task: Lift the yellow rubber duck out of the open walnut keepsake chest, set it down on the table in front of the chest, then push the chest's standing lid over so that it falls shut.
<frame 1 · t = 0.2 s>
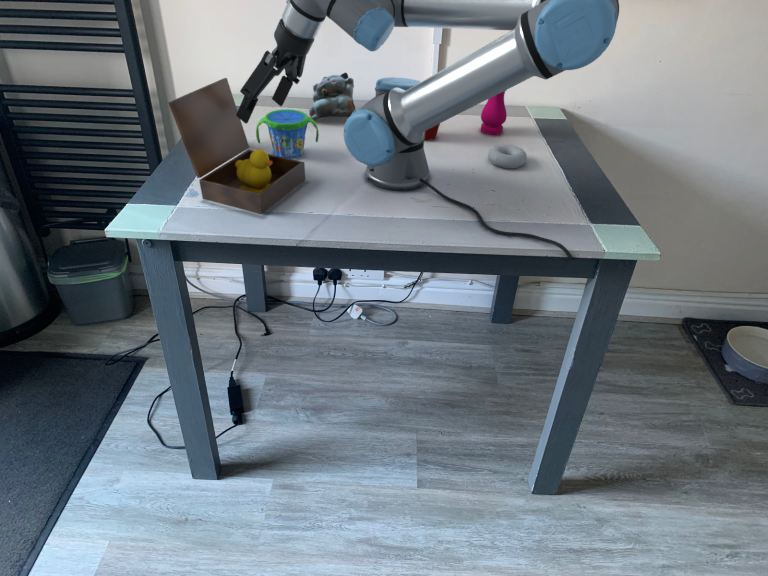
hand: (260, 110, 124), 16 cm above the table, tool tilted 30°, fingers open, 13 cm apart
lucky cat figurine: (331, 118, 167), on the table
pepper mill: (491, 132, 162), on the table
snack cup: (289, 155, 145), on the table
paper cup: (213, 147, 147), on the table
chest: (256, 191, 128), on the table
duck: (255, 188, 127), point 1 cm above the table, touching chest
lid: (204, 127, 123), point 13 cm above the table, hinge at 104.1°
donut: (506, 162, 145), on the table
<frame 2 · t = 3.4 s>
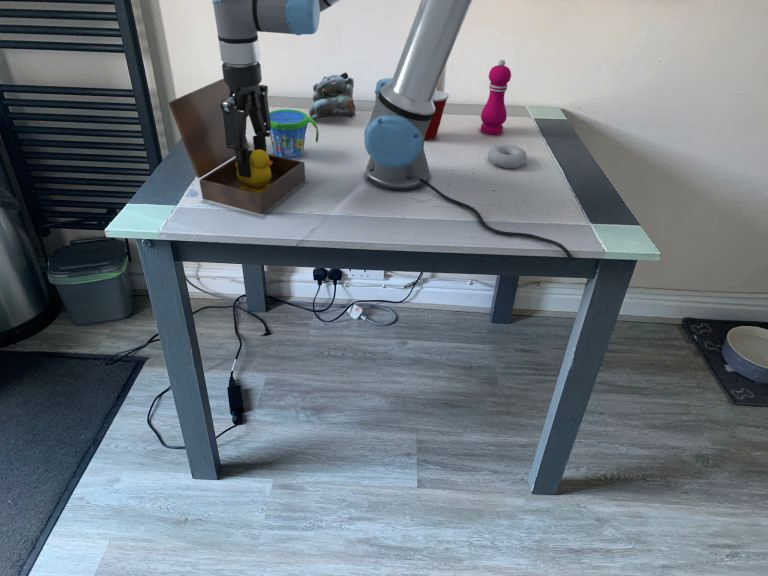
hand: (253, 169, 124), 5 cm above the table, tool pointing down, fingers closed on duck, 6 cm apart
duck: (255, 188, 127), point 1 cm above the table, touching chest, gripper
everything else where it was.
when the fingers open (5 cm above the table, at t = 9.9 s): duck stays where it is, on the table.
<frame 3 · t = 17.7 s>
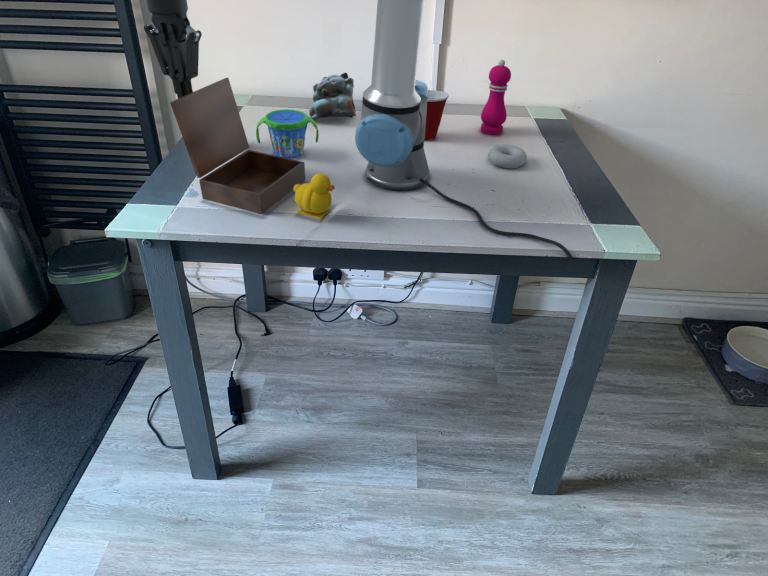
hand: (186, 109, 123), 16 cm above the table, tool pointing down, fingers closed
duck: (314, 214, 120), on the table
lid: (205, 127, 123), point 13 cm above the table, hinge at 102.4°
everything else where it was.
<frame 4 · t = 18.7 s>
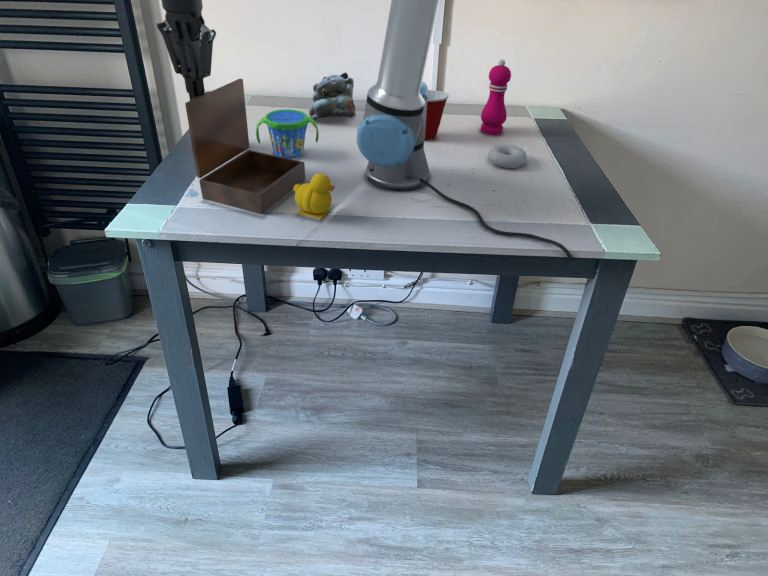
hand: (198, 108, 121), 17 cm above the table, tool pointing down, fingers closed
lid: (212, 125, 122), point 14 cm above the table, hinge at 88.6°, touching gripper
everything else where it was.
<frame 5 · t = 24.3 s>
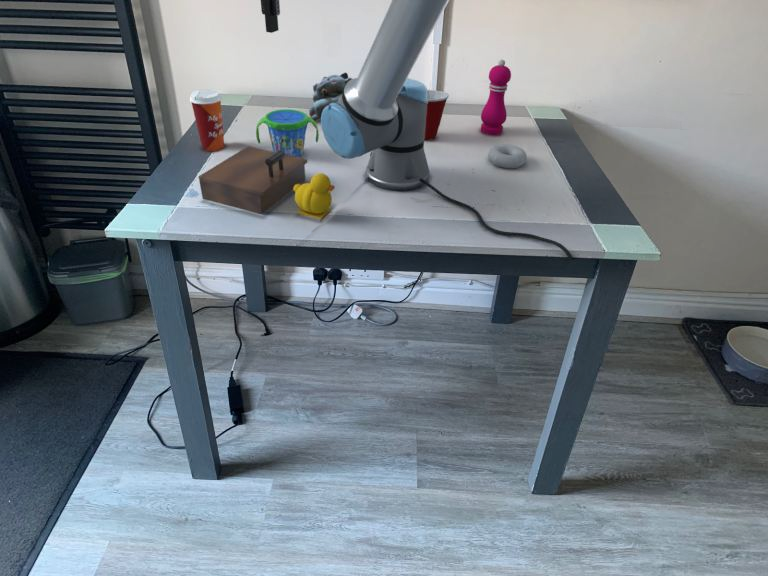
hand: (272, 31, 124), 30 cm above the table, tool pointing down, fingers closed
lid: (253, 160, 123), point 8 cm above the table, hinge at -0.1°
everything else where it was.
at the end: duck inside the target area (0.2 cm from its centre), on the table; duck tilted 0° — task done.
